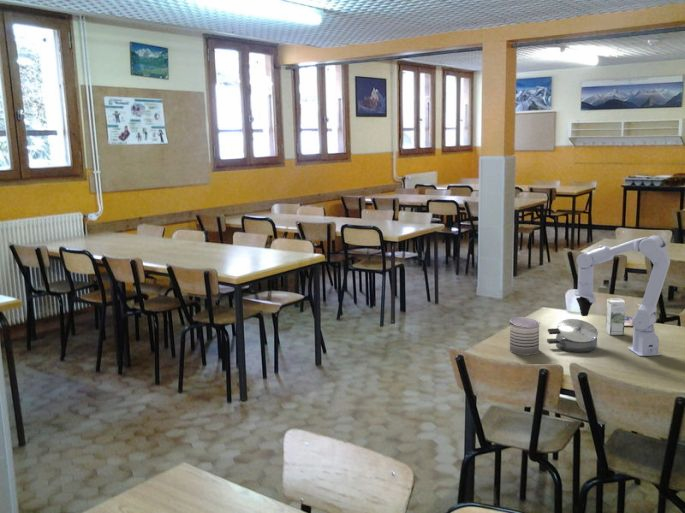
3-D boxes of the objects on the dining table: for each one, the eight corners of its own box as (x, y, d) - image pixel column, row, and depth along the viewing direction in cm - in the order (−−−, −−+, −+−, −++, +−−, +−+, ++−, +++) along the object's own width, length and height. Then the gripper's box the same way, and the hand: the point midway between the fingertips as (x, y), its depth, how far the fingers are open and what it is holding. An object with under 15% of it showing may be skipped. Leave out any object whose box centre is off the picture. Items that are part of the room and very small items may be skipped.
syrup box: (619, 331, 272) (621, 297, 270) (624, 335, 266) (625, 301, 264) (605, 331, 273) (606, 298, 270) (609, 335, 267) (611, 301, 264)
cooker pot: (603, 352, 248) (603, 341, 247) (554, 354, 247) (555, 344, 246) (586, 340, 263) (587, 330, 262) (541, 342, 262) (541, 332, 261)
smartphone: (620, 325, 278) (613, 316, 293) (620, 328, 278) (613, 318, 293) (638, 326, 277) (630, 316, 291) (638, 328, 277) (630, 318, 291)
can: (527, 344, 260) (527, 315, 258) (545, 352, 250) (546, 322, 248) (503, 348, 256) (503, 319, 254) (520, 357, 246) (521, 326, 244)
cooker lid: (603, 341, 247) (604, 339, 247) (555, 344, 246) (555, 342, 246) (588, 319, 260) (588, 317, 260) (542, 322, 259) (542, 319, 259)
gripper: (568, 279, 265) (567, 311, 267) (583, 287, 250) (582, 321, 253) (585, 278, 265) (584, 310, 267) (601, 286, 251) (599, 320, 253)
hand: (584, 315), depth 260 cm, fingers closed
